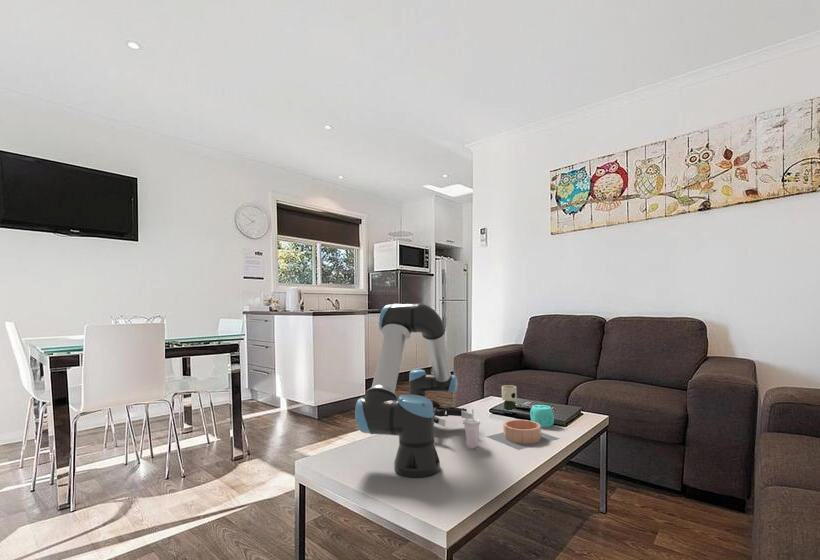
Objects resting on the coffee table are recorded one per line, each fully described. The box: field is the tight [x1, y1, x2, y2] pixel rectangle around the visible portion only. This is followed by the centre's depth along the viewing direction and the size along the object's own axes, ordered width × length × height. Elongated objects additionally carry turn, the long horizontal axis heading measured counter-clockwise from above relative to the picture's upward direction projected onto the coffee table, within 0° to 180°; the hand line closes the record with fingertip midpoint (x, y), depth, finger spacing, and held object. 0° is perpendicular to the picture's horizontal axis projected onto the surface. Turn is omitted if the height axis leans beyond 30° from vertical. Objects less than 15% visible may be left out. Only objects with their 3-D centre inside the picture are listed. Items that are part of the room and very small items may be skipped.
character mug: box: [501, 384, 518, 410], centre depth 202 cm, size 11×7×13 cm, turn 143°
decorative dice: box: [529, 404, 555, 428], centre depth 181 cm, size 8×8×8 cm
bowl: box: [502, 419, 542, 444], centre depth 164 cm, size 14×14×5 cm
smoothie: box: [462, 408, 481, 449], centre depth 157 cm, size 6×6×14 cm
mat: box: [485, 431, 560, 451], centre depth 164 cm, size 22×18×1 cm
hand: (458, 420), depth 165 cm, fingers open, 13 cm apart
